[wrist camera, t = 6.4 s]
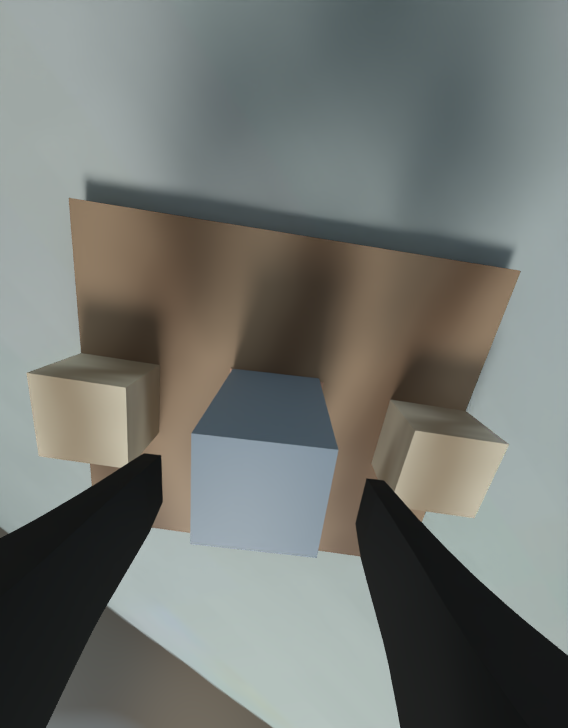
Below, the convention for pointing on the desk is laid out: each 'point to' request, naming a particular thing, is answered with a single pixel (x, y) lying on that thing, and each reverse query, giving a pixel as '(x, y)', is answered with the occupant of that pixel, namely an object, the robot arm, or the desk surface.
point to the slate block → (262, 465)
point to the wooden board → (274, 355)
